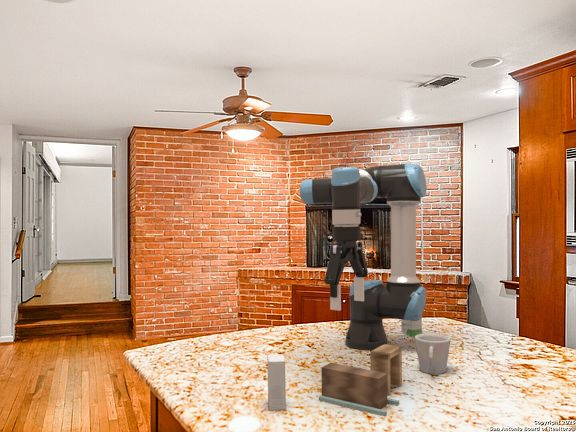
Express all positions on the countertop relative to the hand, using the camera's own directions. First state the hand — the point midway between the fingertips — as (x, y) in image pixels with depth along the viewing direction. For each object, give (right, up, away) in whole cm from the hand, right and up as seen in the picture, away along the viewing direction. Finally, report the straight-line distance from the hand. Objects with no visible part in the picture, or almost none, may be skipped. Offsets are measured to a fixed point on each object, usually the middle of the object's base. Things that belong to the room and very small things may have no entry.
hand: (347, 305), depth 131 cm
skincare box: (-19, -24, -9) cm, 31 cm away
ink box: (+33, -23, +62) cm, 74 cm away
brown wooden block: (+1, -23, -7) cm, 24 cm away
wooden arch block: (+11, -23, +2) cm, 25 cm away
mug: (+27, -23, +15) cm, 39 cm away
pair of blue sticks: (+2, -23, -8) cm, 24 cm away
